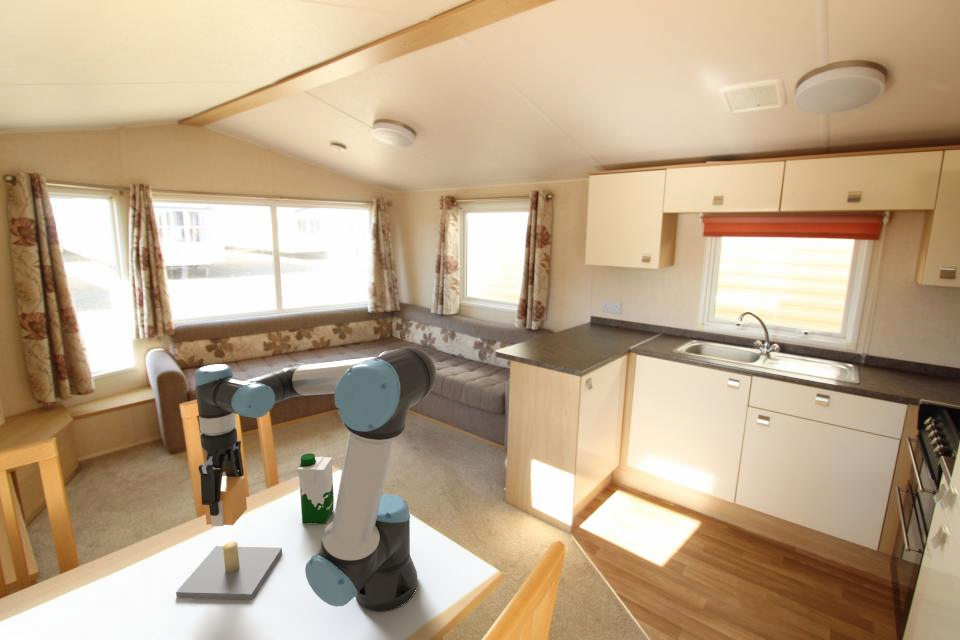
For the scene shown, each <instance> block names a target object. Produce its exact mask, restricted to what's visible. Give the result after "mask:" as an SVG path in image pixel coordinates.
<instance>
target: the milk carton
mask: <svg viewBox="0 0 960 640" xmlns="http://www.w3.org/2000/svg"><path fill="white" fill-rule="evenodd" d="M296 470H297V474H298V478H299V488H300V489H299V493H300V505H301V507H300V509H301V523H302V524H308V523H316V524H317V525H318V524H319V525H321V524H322V525H326V524H327V522H328V520H329V519H330V517H331V515H332V514H333V512H334V505H335V503H334V501H335V499H334V482H333V481H334V479H333V478H334V477H333V457H327V456H316V455H315V454H314V453H312V452H311V453H305V454H302V455H301V456H300V464H299V466H298V468H297V469H296ZM332 511H333V512H332Z"/></svg>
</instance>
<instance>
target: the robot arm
mask: <svg viewBox="0 0 960 640" xmlns="http://www.w3.org/2000/svg"><path fill="white" fill-rule="evenodd" d="M436 369H437V368H436V365H435V363H434V361H433V359H432V357H431V356H430V355H429V354H428V353H427V352H426V351H424V350H423V349H421V348H419V347H416V346H402V347H398V348H396V349H389V350H385V351H383V352H382V353H380V355H378V356H371V357H369V356H368V357H362V358H353V359H346V360H344V359H343V360H337V361H328V362H318V363H310V364H307V363H305V362H299V363H294V364H290V365H288V366H286V367H283V368H279V369H277V370H274V371H271V372H270V371H269V372H267V373H264V374H261V375H258V376H253V377H251V378H249V379H240V378H237V377H234V374H233V370H232V368H231V366H230V365H228V364H225V363H224V364H223V363H218V364H214V363H213V364H209V365H204V366H201V367H199V368H197V369H196V371H195V374H194V382H195V383H194V388H195V395H196V404H197V413H198V421H199V430H200V444H201V448H202V449H203V450H205V451H206V452H207V454H206V462H205V463H204V464H200V465H198V471H199V475H200V495H201V505H202V506H205V505H209V508H210V515H211V524H212V525H211V527H213V526H214V527H223V526H225V525H224V524H225V523H224V512H223V501H222V500H220V494H221V484H222V476H223V473H225V476H227V477H244V473H245V472H244V465H243V457H242V451H241V444H242V441H241V440H238V430H237V429H238V428H237V427H236V426H237V416H236V415H239V416H241V417H248V418H255V419H258V418H263V417H265V416H266V415H267V414H268V413H269V412H270V411H271V410H272V409H273V407H274V405H275V404H277V403H280V402H282V401H285V400H288V399H290V398H294V397H305V396H317V395H318V396H319V395H331V394H334V405H335V408H337V409H338V411H337V414H338V417H339V418H340V420H341V421H342V424H343V426H344V429H345V430H347V432H348V438H347V443H346V447H345V448H346V449H345V455H344V460H343V465H342V470H341V471H342V472H341V476H340V481H339V488H338V492H337V498H336V503H335V508H334V509H335V510H334V514H333V520H332V521H331V522H330V523H329V524H328V525H327V526H326V527H325V528H324V531H323V533H322V537H321V538H322V539H321V542H320V543H321V544H320V548H319V550H318V552H317V553H315V554H313V555H312V556H311V557H310V559H309V560H308V561H307V563H306V564H305V568H304V569H305V578H306V581H307V583H308V585H309V587H310V588H311V589H312V592H314V594H315V595H316V596H317V597H318V598H319V599H320V600H321V601H323V602H324V603H326V604H327V605H329V606H332V607H344V606H345V605H347V604H348V603H350V601H352V600H353V599H354V598H355V599H356V601H357V602H358V603H359V604H360V606H362V607H363V606H364V607H363V608H365V609H367V608H368V610H369V609H370V611H373V610H374V611H375V612H388V611H391V610H390V609H392V610H395V609H397V607H398V606H400V607H401V605H402V604H404V603H405V602H406V603H408V602H409V601H410V600H411V599H412V598H413V596H414V595H415V593H416V592H415V590H416V591H417V589H416V588H418V572H417V569H416V567H415V566H416V565H415V564H414V561H413V559H412V557H411V551H410V550H411V543H410V542H411V538H410V537H411V533H410V531H411V529H410V528H411V527H410V524H411V523H410V522H411V521H410V520H411V514H410V507H409V504H408V502H407V501H406V500H405V499H404V498H402V497H400V496H398V495H396V494H390V493H389V494H386V493H383V491H384V486H385V482H386V478H387V473H388V468H389V464H390V458H391V455H392V451H393V446H394V442H395V439H396V438H398V437H400V436H401V435H402V434H403V432H404V431H405V428H406V423H407V419H408V416H409V415H408V414H409V411H410V409H411V407H413V406H415V405H416V404H418V403H419V402H422V400H424V399H425V398H426V397H427V396H429V395H430V393H431V391H432V390H433V389H434V386H435V384H436V381H437V370H436ZM414 592H415V593H414ZM413 594H414V595H413ZM412 595H413V596H412ZM411 597H412V598H411ZM410 598H411V599H410ZM409 599H410V600H409ZM408 600H409V601H408ZM407 601H408V602H407ZM406 603H405V604H406ZM405 604H404V605H405ZM402 606H403V605H402ZM394 608H395V609H394ZM398 608H399V607H398ZM387 610H388V611H387ZM374 611H373V612H374Z"/></svg>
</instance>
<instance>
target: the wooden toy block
mask: <svg viewBox="0 0 960 640" xmlns="http://www.w3.org/2000/svg"><path fill="white" fill-rule="evenodd" d="M245 483H246V482H245V476H241V477H227V476H226V475H225V476H224V475H222V484H221V494H220V500H222V501H223V512H224V523H225V524H224V526H234V525H235V524H236V522H237V521H238V520H239V519H240V518H241V517H242V516H243V514H244V513H245V512H246V511H247V509H248V507H247V505H248V504H247V496H246V484H245ZM204 510H205V511H204V512H205V522H206V523H205V524H206V525H211V526H212V524H211V515H210V508H209V505H204Z"/></svg>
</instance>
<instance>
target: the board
mask: <svg viewBox="0 0 960 640" xmlns="http://www.w3.org/2000/svg"><path fill="white" fill-rule="evenodd" d="M282 553H283V547H266V546H265V547H264V546H238V542H237V541H229V542H226V543H225V544H224V545H223V546H221V545H216V546H215V547H214V548H212V550H211V551H210V553H208V555H207V556H206V557H205V558H204V559H203V561H201V563H200V564H199V565H198V566H197V568H196V569H195V570H194V571H192V573H191V574H190V576H189V577H188V578H187V579H186V580H185V581H184V583H182V585H180V587H179V588H178V589H177V590H176V591H175V596H176V599H178V598H179V599H209V600H211V599H216V600H249V601H251V600H253V599H254V597H255V596H256V594H257V593H258V591H259V590H260V588H261V586H262V585H263V584H264V581H266V579H267V578H268V575H269V574H270V573H271V570H272V569H273V567H274V566H275V564H276V563H277V561H278V560H279V558H280V557H281V555H282Z"/></svg>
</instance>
